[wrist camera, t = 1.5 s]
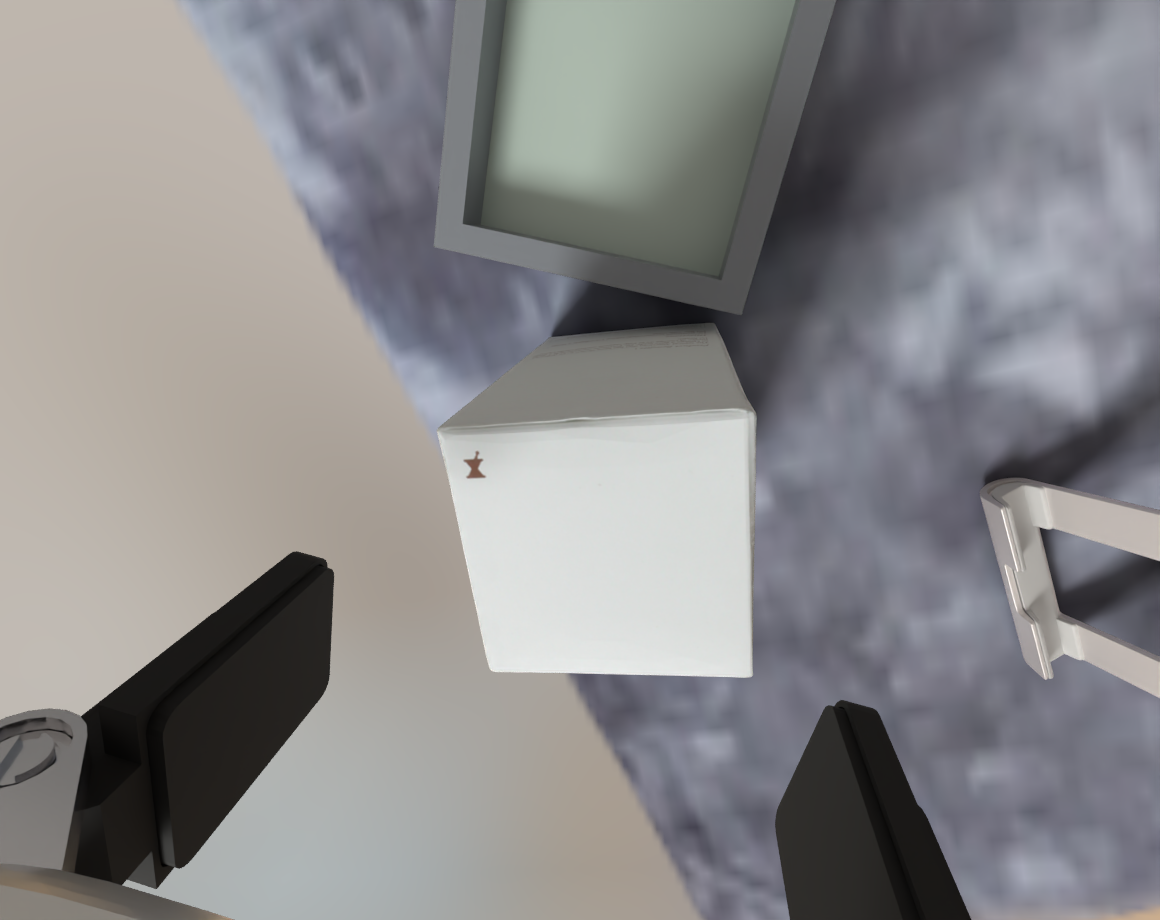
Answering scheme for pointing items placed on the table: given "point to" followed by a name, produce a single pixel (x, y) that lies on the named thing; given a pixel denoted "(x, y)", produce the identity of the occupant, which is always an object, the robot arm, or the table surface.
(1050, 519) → the portable electronic device stand
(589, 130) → the tray
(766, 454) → the table surface
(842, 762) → the robot arm
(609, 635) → the supplement box
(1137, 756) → the table surface
